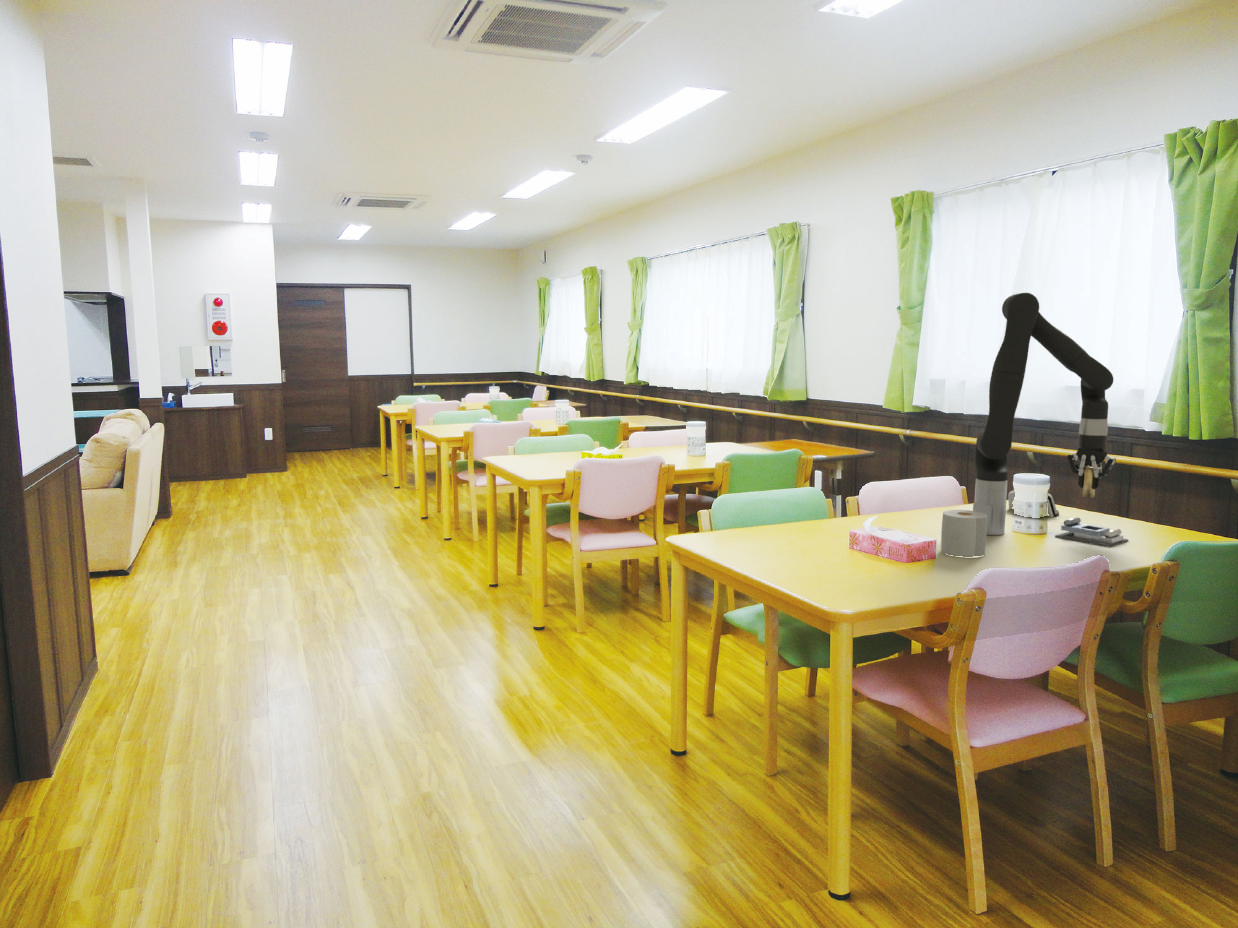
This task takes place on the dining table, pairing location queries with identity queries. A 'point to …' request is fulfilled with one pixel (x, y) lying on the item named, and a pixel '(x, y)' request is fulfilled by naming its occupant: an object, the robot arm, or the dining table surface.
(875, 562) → the dining table surface
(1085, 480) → the brass pin
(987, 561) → the dining table surface
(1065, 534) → the rubber mat
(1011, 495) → the hinge
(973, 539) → the toilet paper roll
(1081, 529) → the grey clamping fixture
